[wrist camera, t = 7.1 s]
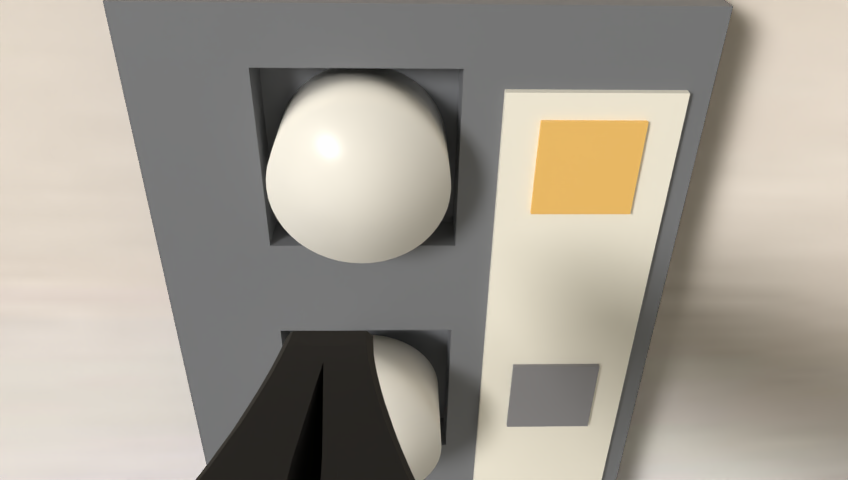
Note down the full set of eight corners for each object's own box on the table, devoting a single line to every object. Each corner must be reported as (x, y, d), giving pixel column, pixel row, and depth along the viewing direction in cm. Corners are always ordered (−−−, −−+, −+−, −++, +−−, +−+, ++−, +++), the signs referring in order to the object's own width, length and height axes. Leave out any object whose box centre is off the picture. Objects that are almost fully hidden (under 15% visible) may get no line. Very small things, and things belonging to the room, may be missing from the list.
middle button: (436, 435, 24) (439, 496, 22) (302, 436, 24) (293, 498, 22) (439, 334, 22) (443, 393, 20) (291, 334, 22) (280, 394, 20)
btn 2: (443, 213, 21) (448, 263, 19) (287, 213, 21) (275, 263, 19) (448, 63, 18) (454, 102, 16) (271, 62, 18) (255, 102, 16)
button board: (576, 556, 32) (587, 609, 30) (247, 561, 31) (236, 615, 29) (702, -18, 18) (738, 11, 16) (130, -23, 18) (98, 5, 16)
